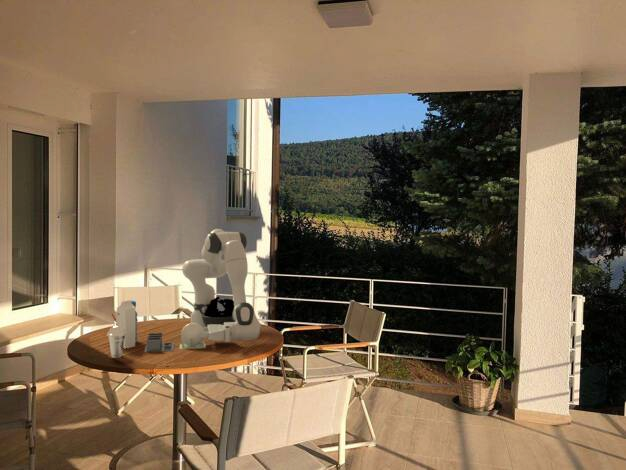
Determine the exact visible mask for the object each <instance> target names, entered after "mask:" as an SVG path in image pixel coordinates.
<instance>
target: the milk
mask: <svg viewBox="0 0 626 470" xmlns="http://www.w3.org/2000/svg"><path fill="white" fill-rule="evenodd" d="M131 301H132V300H130V299H129V300H124V301H123V300H122V301H121V302H120V303H121V304H120V305H119V306H117V307H116V314H117V313H119V315H118V325H120V326H122V327H123V328H124V329H125V331H126V332H127V335H125V340H124V345H123V348H124V349H123V350H126V348H127V349H130V348H134V347H136V342H135V310H136V308H135V306H134V305H133V304H132V303H131Z"/></svg>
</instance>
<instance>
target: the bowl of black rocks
mask: <svg viewBox="0 0 626 470" xmlns="http://www.w3.org/2000/svg"><path fill="white" fill-rule="evenodd" d="M218 303H219V304H220V305H222V307H223V308H224V309H223V310H219V308H218ZM233 309H234V300H233V299H230V298H224V299H221V297H220V296H217V297H215V299H212V300H211V301H210V304H208V306H207V309H206V311H205V313H204V314H202V320H203V322H204V324H205V326H206V327H207V325H210V324H220V325H224V322H234V321H233V319H232V313H233Z"/></svg>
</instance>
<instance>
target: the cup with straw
mask: <svg viewBox="0 0 626 470" xmlns="http://www.w3.org/2000/svg"><path fill="white" fill-rule="evenodd" d="M118 315H119V313H117V312H116V313H115V325H112V326H111V327H110V328H109V330H108V332H107V333H106V336H107V337H108V341H109V347H110V355H111V358H115V359H117V357H118V358H122V357H123V351H124V349H123V345H124V340H125V335H127V332H126V331H125V329H124V328H123V327H122V326H120V325H118ZM121 356H122V357H121Z"/></svg>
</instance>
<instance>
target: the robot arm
mask: <svg viewBox="0 0 626 470" xmlns="http://www.w3.org/2000/svg"><path fill="white" fill-rule="evenodd" d="M247 241H248V240H247V237H246V235H245V233H243V232H240V231H224V230H223V229H221V228H215V229H213V230H212V231H211V232H210V233H208V234H206V236H205V238H204V245H203V247H202V249H201V258H202V259H201V258H199V259H197V258H196V259H195V258H194V259H190V260H186V261H184V263H183V265H182V268H181V269H182V271H181V272H182V273H183V276H184V277H185V278H187V280H189V281H190V282H191V284H192V287H193V290H194V303H193V311H192V313H190V323H197V324H199V325H201V326H202V327H203V329H204V332H205V333H202V332H199V333H198V336H199V337H204V338H208V340H209V341H213V342H214V341H215V342H216V341H217V342H219V341H220V342H223V341H224V342H226V343H229V342H231V341H232V342H233V341H239V340H240V341H251V340H255V339H256V340H257V339H258V338H260V335H261V332H262V323H261V322H260V321H259V320H258V317H257V315H256V312H255V310H254V306H253V305H252V304H251V303H249V302H247V298H246V290H245V289H246V288H245V286H246V285H245V283H246V279H247V276H248V271H249V270H248V269H249V267H248V266H249V265H248V259H247V252H246V250H245V249H246V247H247V243H248V242H247ZM223 256H224V258H222V257H223ZM226 274H227V276H228V280H229V283H230V285H231V286H230V287H231V291H232V298H233V299H232V300H233V301H234V309H233V313H232V319H233V321H234V322H224V325H220V324H210V325H207V327H206V326H205V324H204V322H203V320H202V314H204V313H205V311H206V309H207V306H208V304H210V301H211V300H212V299H215V298H216V297H215V296H216V294H215V293H216V290H215V288H214V287H213V286H212V285H210V284H208V283H207V282H206V279H217V278H221V277H225V276H226Z"/></svg>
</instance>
